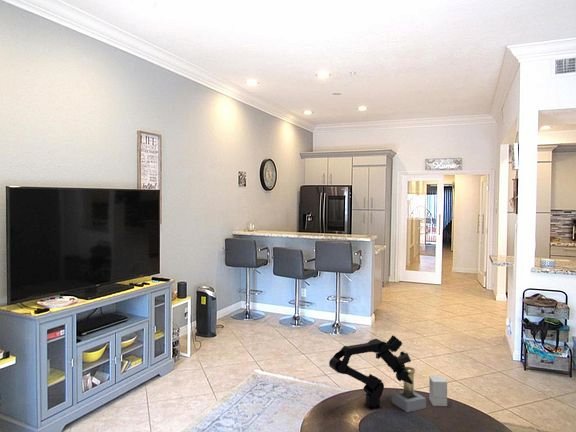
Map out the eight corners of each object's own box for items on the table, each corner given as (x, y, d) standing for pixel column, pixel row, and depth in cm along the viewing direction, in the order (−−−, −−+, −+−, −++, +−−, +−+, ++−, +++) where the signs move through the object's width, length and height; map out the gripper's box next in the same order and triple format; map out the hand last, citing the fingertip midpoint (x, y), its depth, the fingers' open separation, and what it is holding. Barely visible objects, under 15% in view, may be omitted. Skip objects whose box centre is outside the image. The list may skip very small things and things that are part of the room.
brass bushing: (407, 397, 206) (407, 371, 206) (399, 392, 211) (400, 367, 211) (416, 395, 208) (417, 370, 208) (409, 391, 214) (409, 366, 214)
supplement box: (443, 400, 216) (443, 376, 216) (447, 406, 208) (447, 382, 208) (429, 399, 216) (429, 375, 217) (432, 405, 209) (432, 381, 209)
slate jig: (406, 412, 202) (406, 402, 202) (391, 402, 213) (391, 392, 213) (425, 408, 207) (425, 398, 207) (409, 398, 218) (409, 389, 218)
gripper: (404, 354, 201) (427, 377, 200) (398, 343, 220) (419, 364, 218) (387, 369, 202) (410, 393, 201) (383, 356, 220) (403, 378, 219)
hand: (411, 381), depth 210 cm, fingers closed on brass bushing, 5 cm apart
